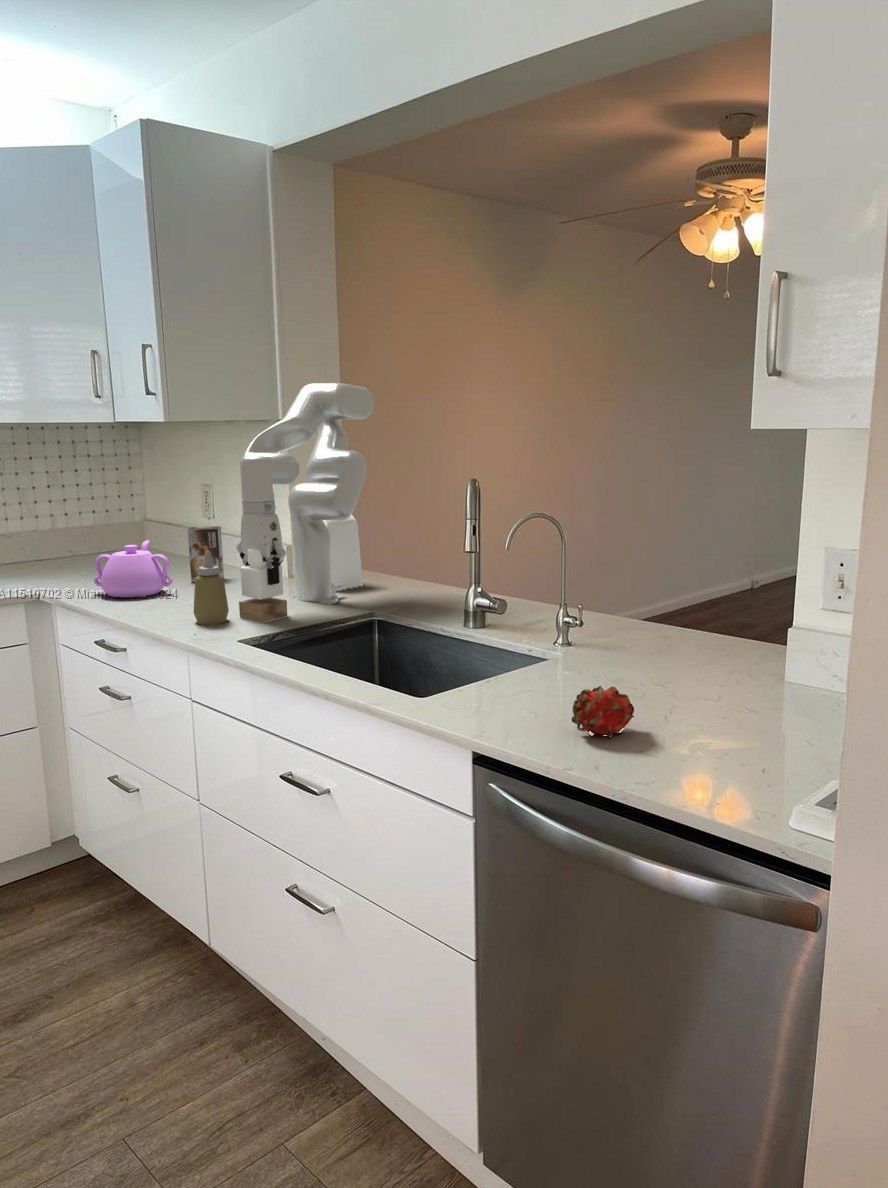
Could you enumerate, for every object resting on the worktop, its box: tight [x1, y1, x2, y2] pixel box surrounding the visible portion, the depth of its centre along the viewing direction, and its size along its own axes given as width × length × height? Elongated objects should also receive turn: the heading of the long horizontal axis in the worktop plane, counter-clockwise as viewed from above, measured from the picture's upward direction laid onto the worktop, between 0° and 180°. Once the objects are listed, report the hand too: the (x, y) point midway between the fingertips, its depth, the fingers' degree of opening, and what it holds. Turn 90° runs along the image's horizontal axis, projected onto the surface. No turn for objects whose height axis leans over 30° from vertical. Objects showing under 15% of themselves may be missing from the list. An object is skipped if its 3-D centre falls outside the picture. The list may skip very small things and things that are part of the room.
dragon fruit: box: [571, 685, 635, 737], centre depth 144 cm, size 8×8×12 cm
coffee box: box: [187, 525, 225, 583], centre depth 272 cm, size 9×6×16 cm
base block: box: [238, 597, 288, 623], centre depth 220 cm, size 8×8×4 cm
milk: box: [323, 514, 364, 590], centre depth 261 cm, size 12×12×26 cm
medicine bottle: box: [240, 548, 284, 599], centre depth 218 cm, size 7×7×12 cm
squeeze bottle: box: [193, 551, 229, 626], centre depth 214 cm, size 8×8×18 cm
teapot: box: [93, 539, 174, 598], centre depth 255 cm, size 22×22×14 cm
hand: (262, 581), depth 218 cm, fingers closed on medicine bottle, 7 cm apart
